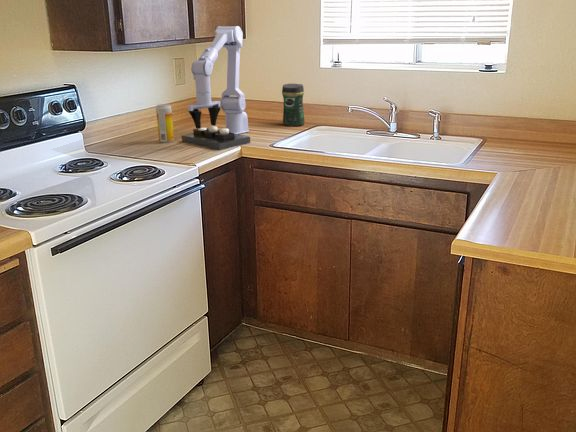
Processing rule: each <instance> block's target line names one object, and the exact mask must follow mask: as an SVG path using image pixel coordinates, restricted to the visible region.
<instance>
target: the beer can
mask: <svg viewBox="0 0 576 432" xmlns="http://www.w3.org/2000/svg"><path fill="white" fill-rule="evenodd" d="M155 113H156V122H157V123H156V124H157V131H158V141H160V143H165V144H169V143H172V142H174V140H175V136H174V135H175V133H174V123H173V112H172V106H171V103H159V104H156V107H155Z"/></svg>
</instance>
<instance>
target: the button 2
mask: <svg viewBox="0 0 576 432" xmlns="http://www.w3.org/2000/svg"><path fill="white" fill-rule="evenodd" d="M207 128H208V129H209V132H210V133H214V132H218V130H219V129H218V126H216V125H215V126H214V125H210V126H208V127H207Z"/></svg>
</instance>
